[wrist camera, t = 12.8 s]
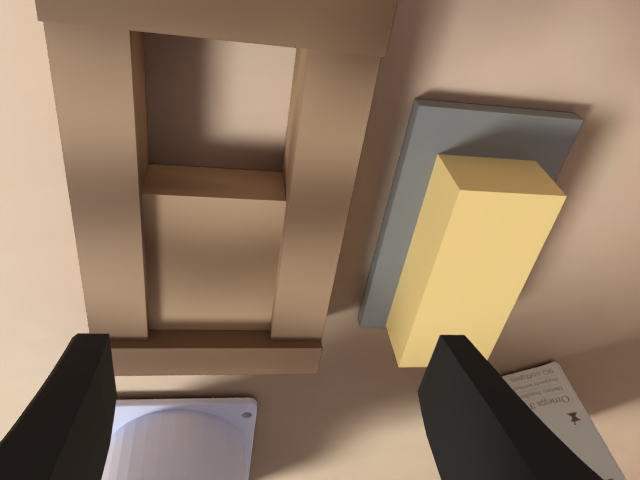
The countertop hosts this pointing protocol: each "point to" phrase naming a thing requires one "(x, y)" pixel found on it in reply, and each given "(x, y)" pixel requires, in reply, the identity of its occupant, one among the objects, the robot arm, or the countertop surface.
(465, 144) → the mat
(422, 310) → the bar
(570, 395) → the supplement box
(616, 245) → the countertop surface
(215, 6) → the pocket board
